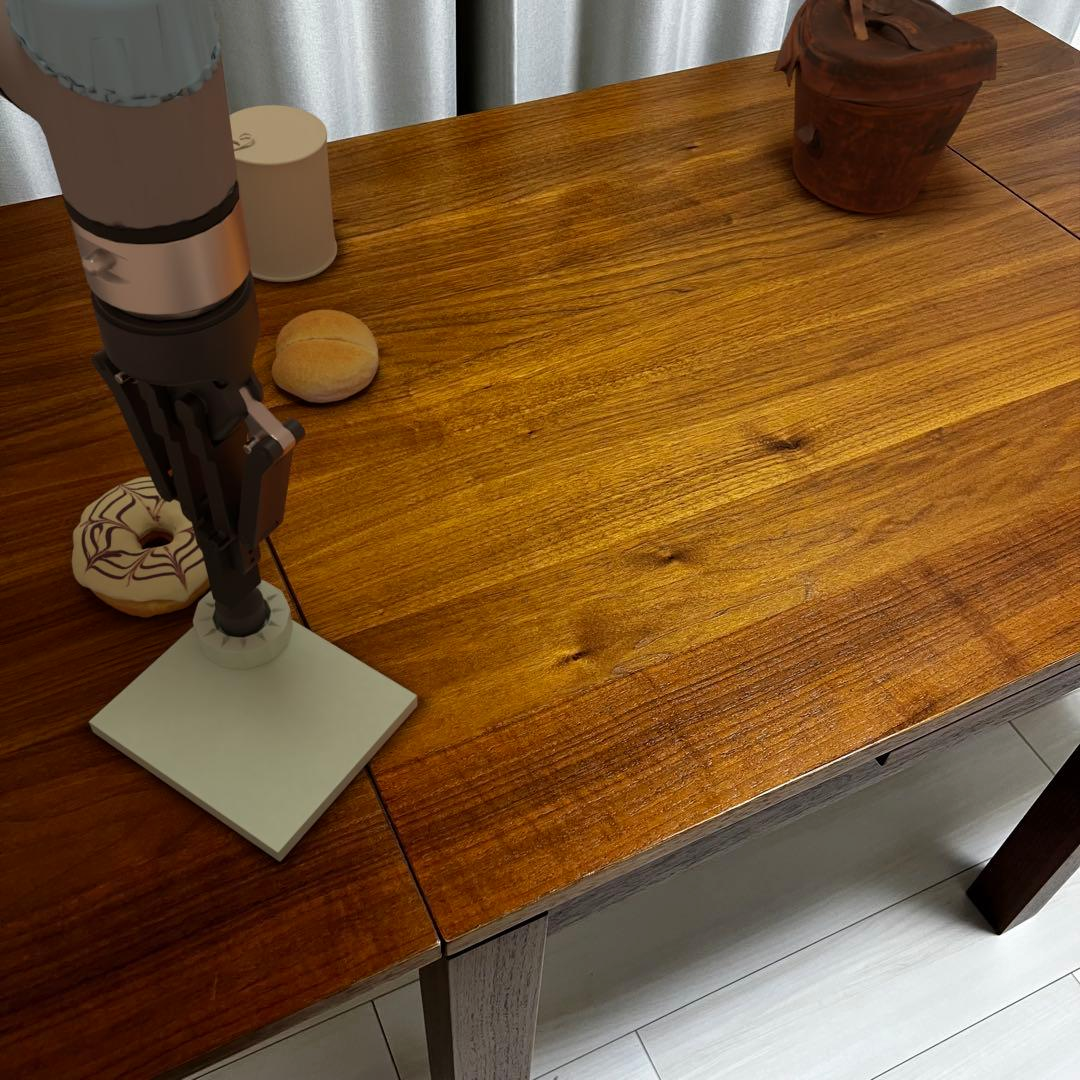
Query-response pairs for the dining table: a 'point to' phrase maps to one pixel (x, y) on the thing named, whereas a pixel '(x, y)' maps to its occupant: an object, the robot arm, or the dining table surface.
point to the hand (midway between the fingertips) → (237, 590)
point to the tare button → (243, 615)
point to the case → (879, 95)
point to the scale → (256, 722)
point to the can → (284, 191)
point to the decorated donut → (138, 552)
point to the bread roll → (325, 356)
